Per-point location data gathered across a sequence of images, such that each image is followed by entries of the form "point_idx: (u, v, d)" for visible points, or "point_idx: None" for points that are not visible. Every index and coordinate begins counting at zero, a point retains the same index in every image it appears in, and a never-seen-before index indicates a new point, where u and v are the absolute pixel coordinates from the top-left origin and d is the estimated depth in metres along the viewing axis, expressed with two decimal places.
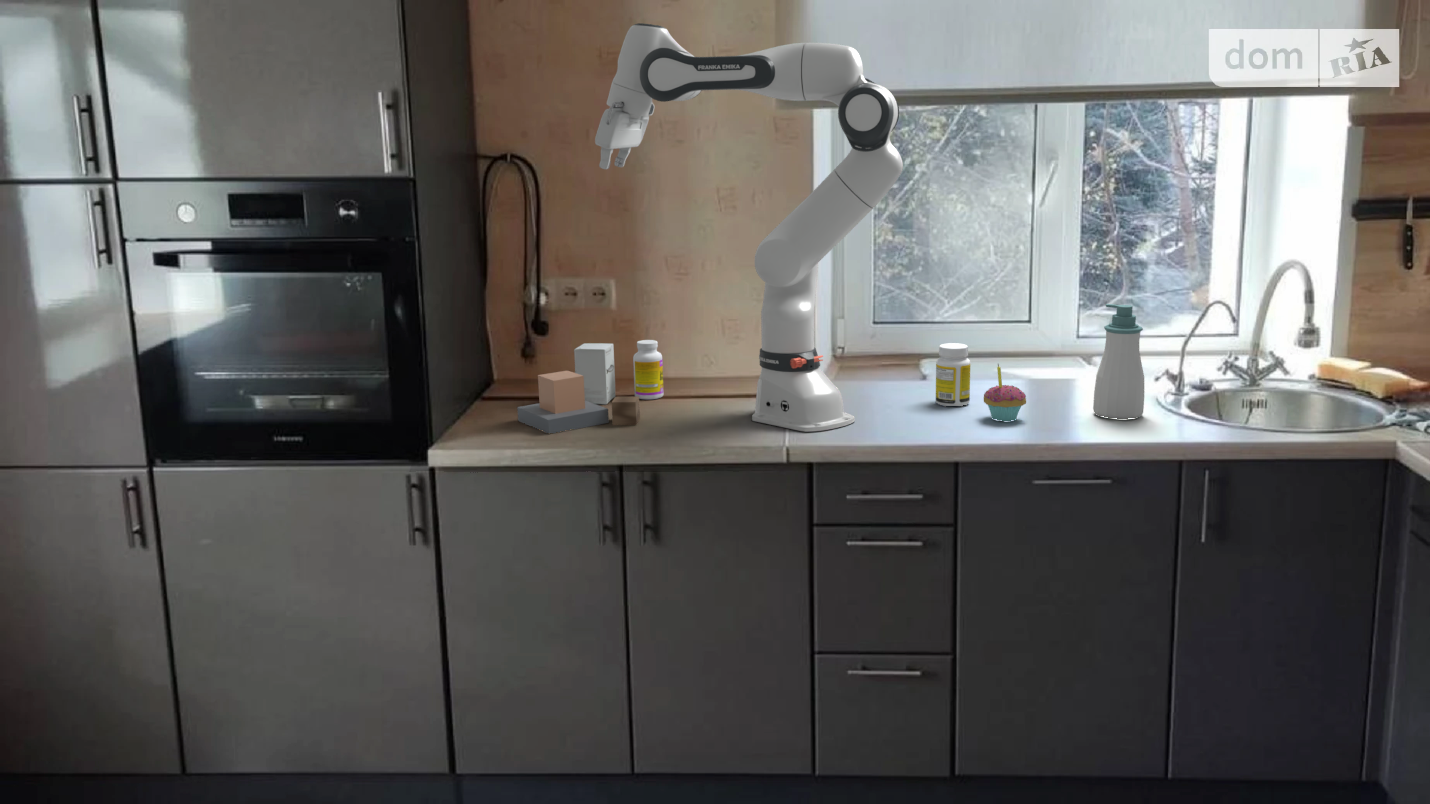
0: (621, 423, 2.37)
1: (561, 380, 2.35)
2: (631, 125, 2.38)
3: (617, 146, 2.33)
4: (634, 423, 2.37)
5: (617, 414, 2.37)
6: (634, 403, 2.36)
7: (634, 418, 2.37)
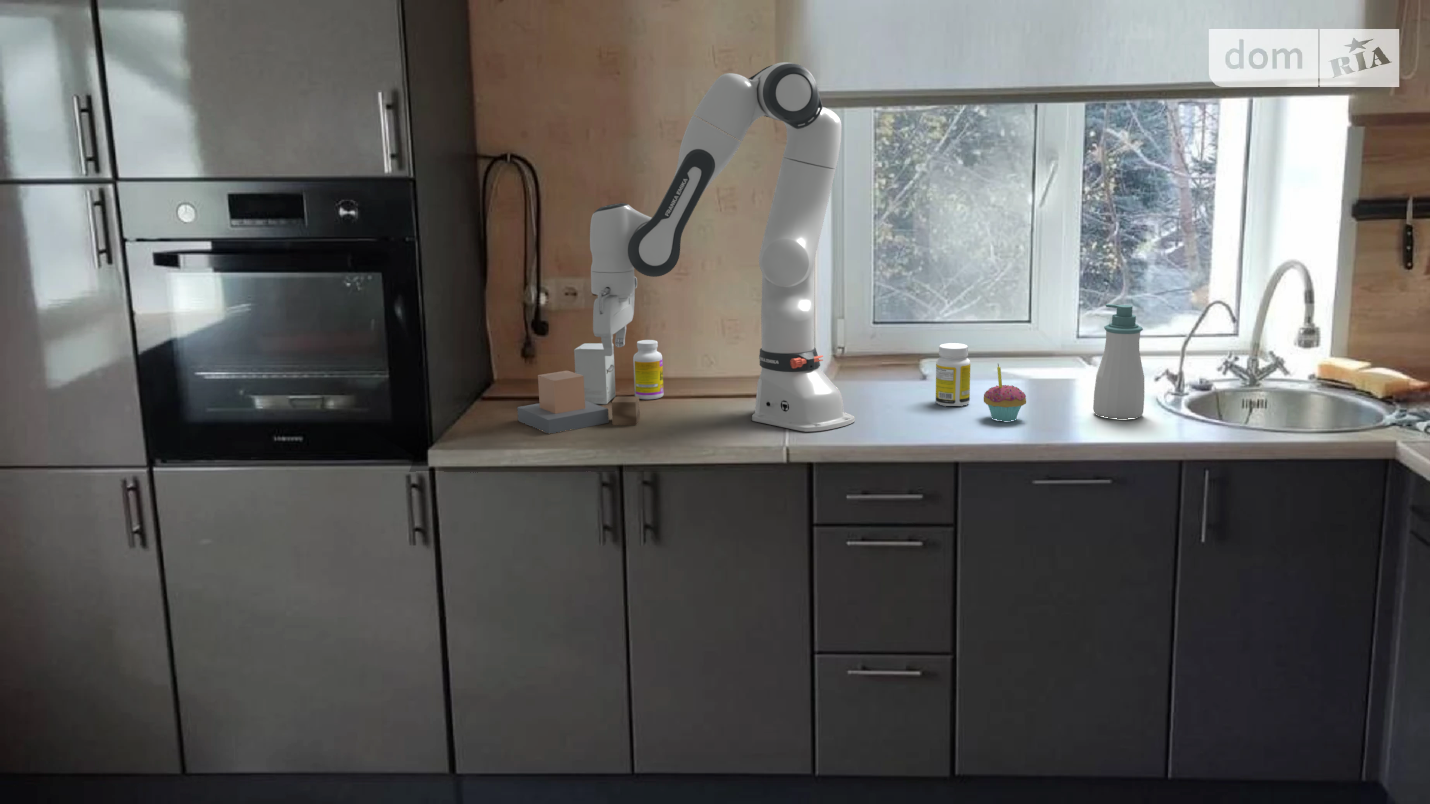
0: (621, 423, 2.37)
1: (561, 380, 2.35)
2: (622, 305, 2.35)
3: (616, 330, 2.29)
4: (634, 423, 2.37)
5: (617, 414, 2.37)
6: (634, 403, 2.36)
7: (634, 418, 2.37)
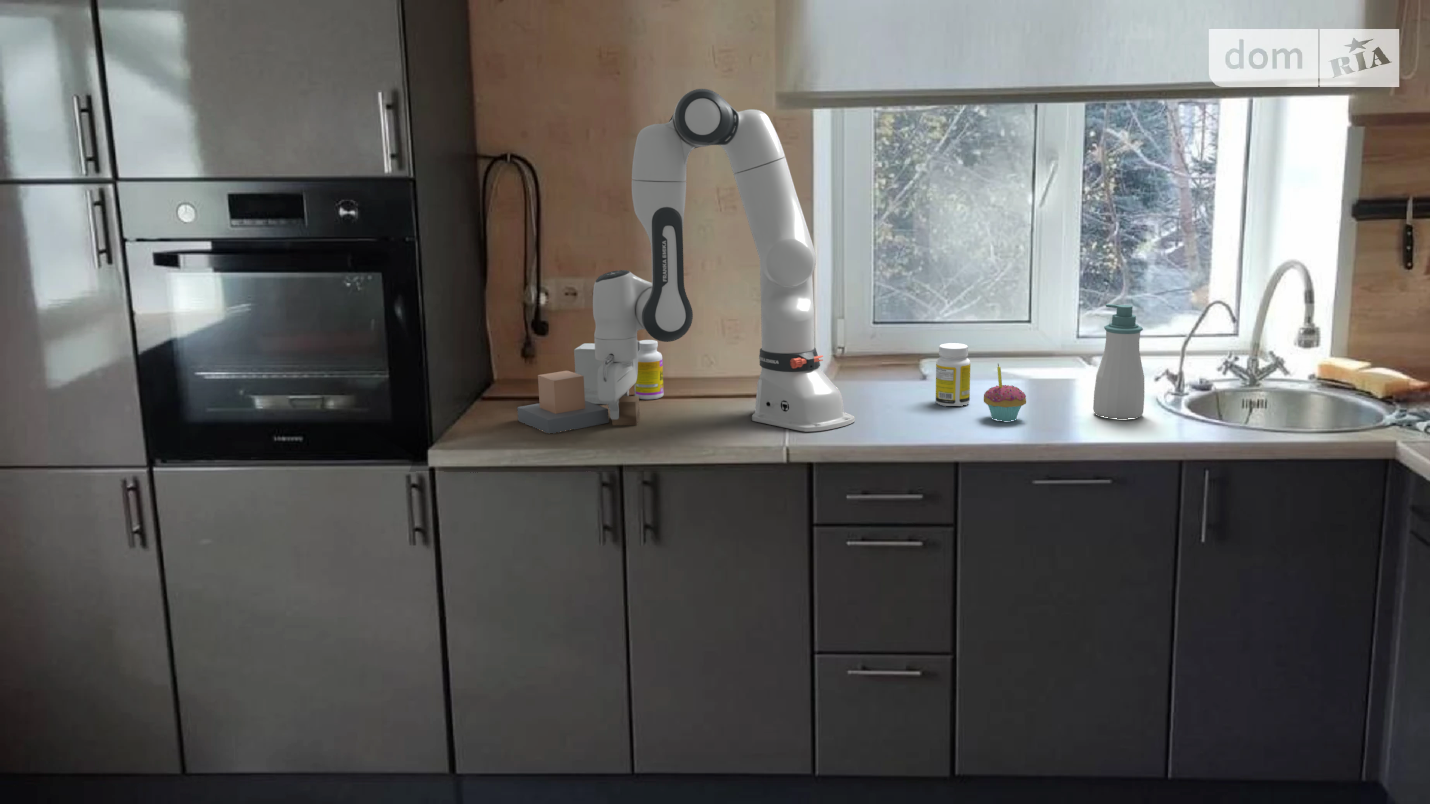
0: (621, 423, 2.37)
1: (561, 380, 2.35)
2: (625, 369, 2.38)
3: (620, 396, 2.33)
4: (634, 423, 2.37)
5: None
6: (634, 403, 2.36)
7: (634, 418, 2.37)
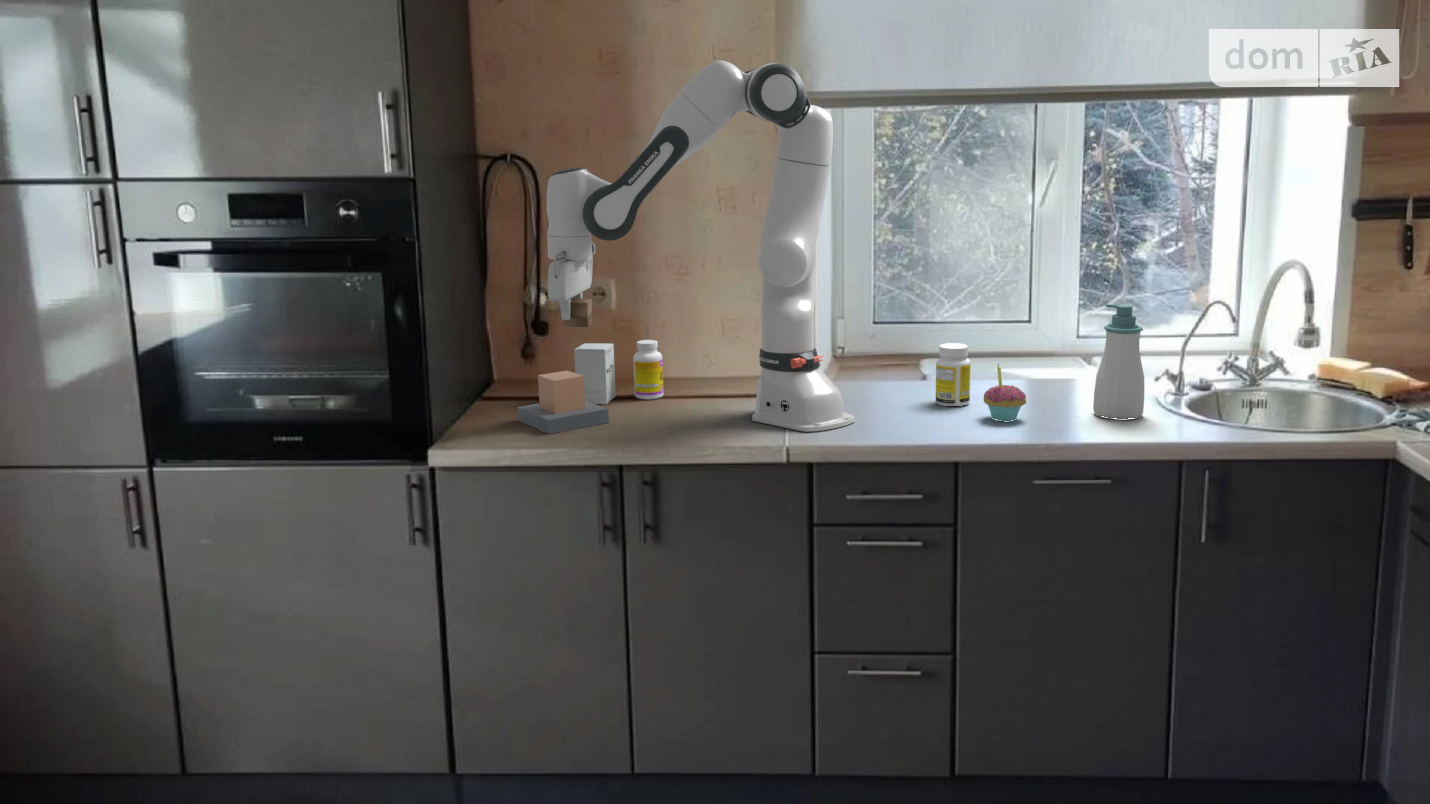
0: (572, 324, 2.33)
1: (561, 380, 2.35)
2: (579, 270, 2.34)
3: (571, 295, 2.28)
4: (585, 324, 2.33)
5: None
6: (586, 304, 2.32)
7: (586, 319, 2.32)
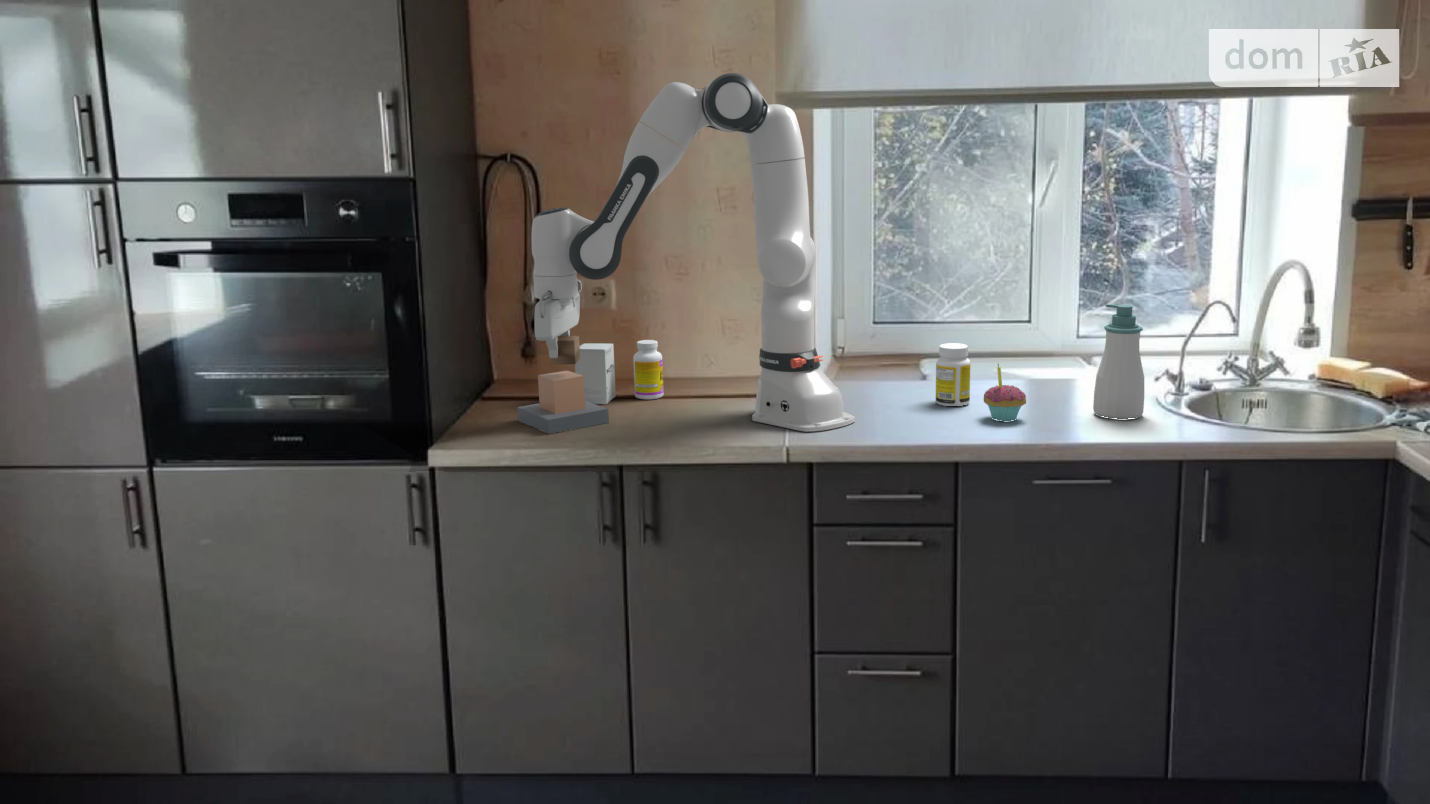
0: (560, 362, 2.35)
1: (561, 380, 2.35)
2: (565, 308, 2.36)
3: (558, 334, 2.31)
4: (573, 362, 2.35)
5: None
6: (573, 341, 2.34)
7: (573, 357, 2.35)
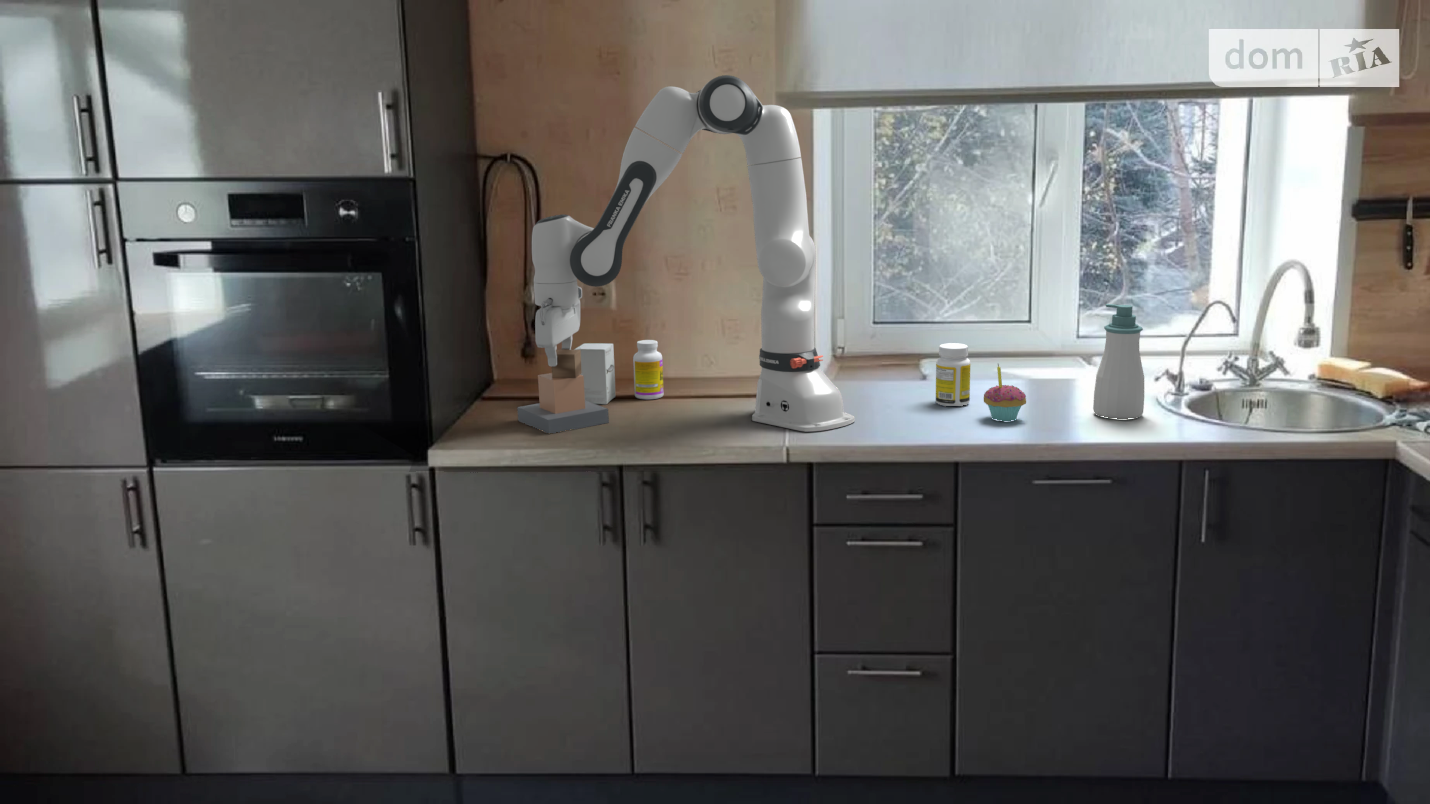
0: (560, 375, 2.36)
1: (561, 380, 2.35)
2: (566, 315, 2.37)
3: (559, 341, 2.31)
4: (573, 376, 2.36)
5: (556, 366, 2.36)
6: (573, 355, 2.35)
7: (573, 371, 2.35)
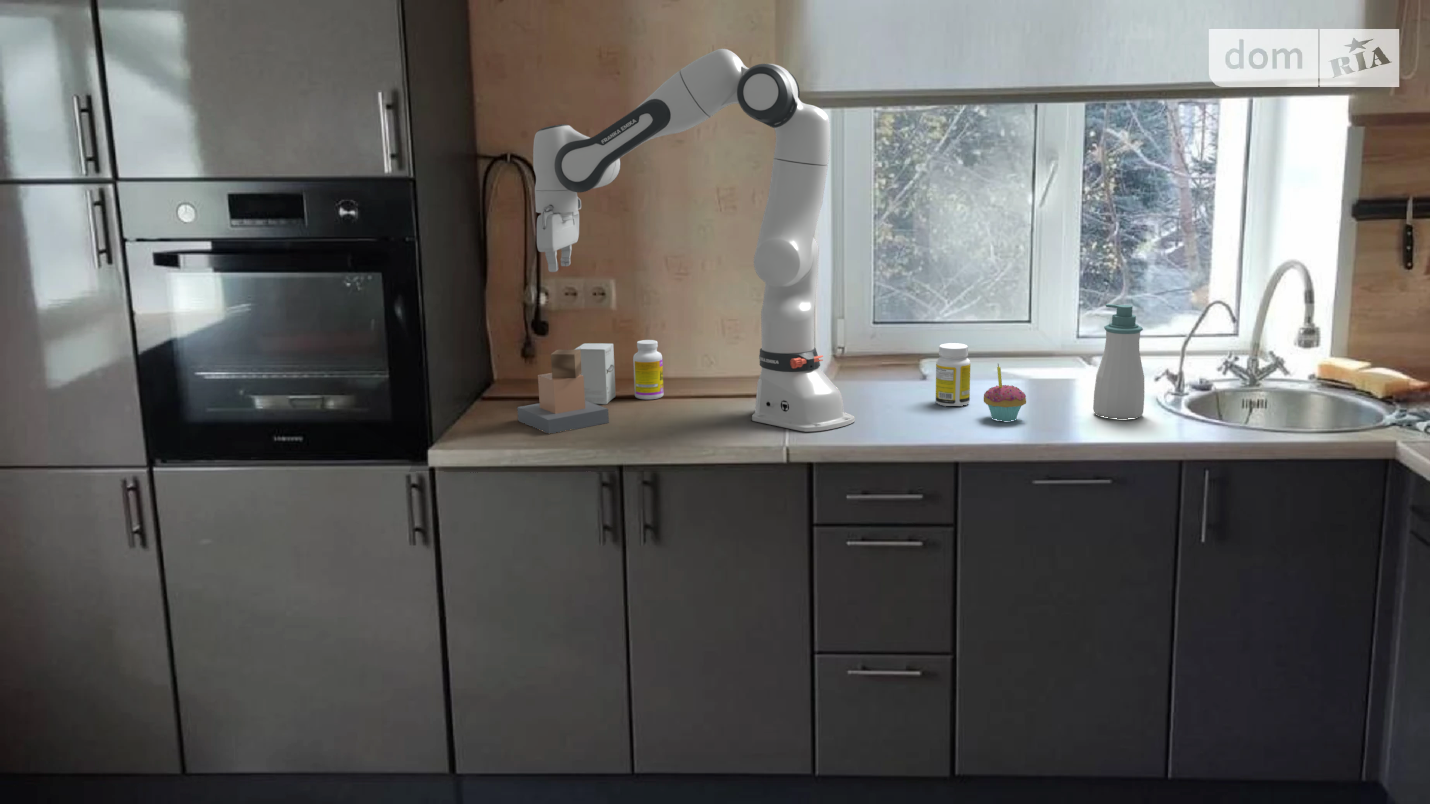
0: (560, 375, 2.36)
1: (561, 380, 2.35)
2: (566, 224, 2.44)
3: (559, 246, 2.39)
4: (573, 376, 2.36)
5: (556, 366, 2.36)
6: (573, 355, 2.35)
7: (573, 371, 2.35)
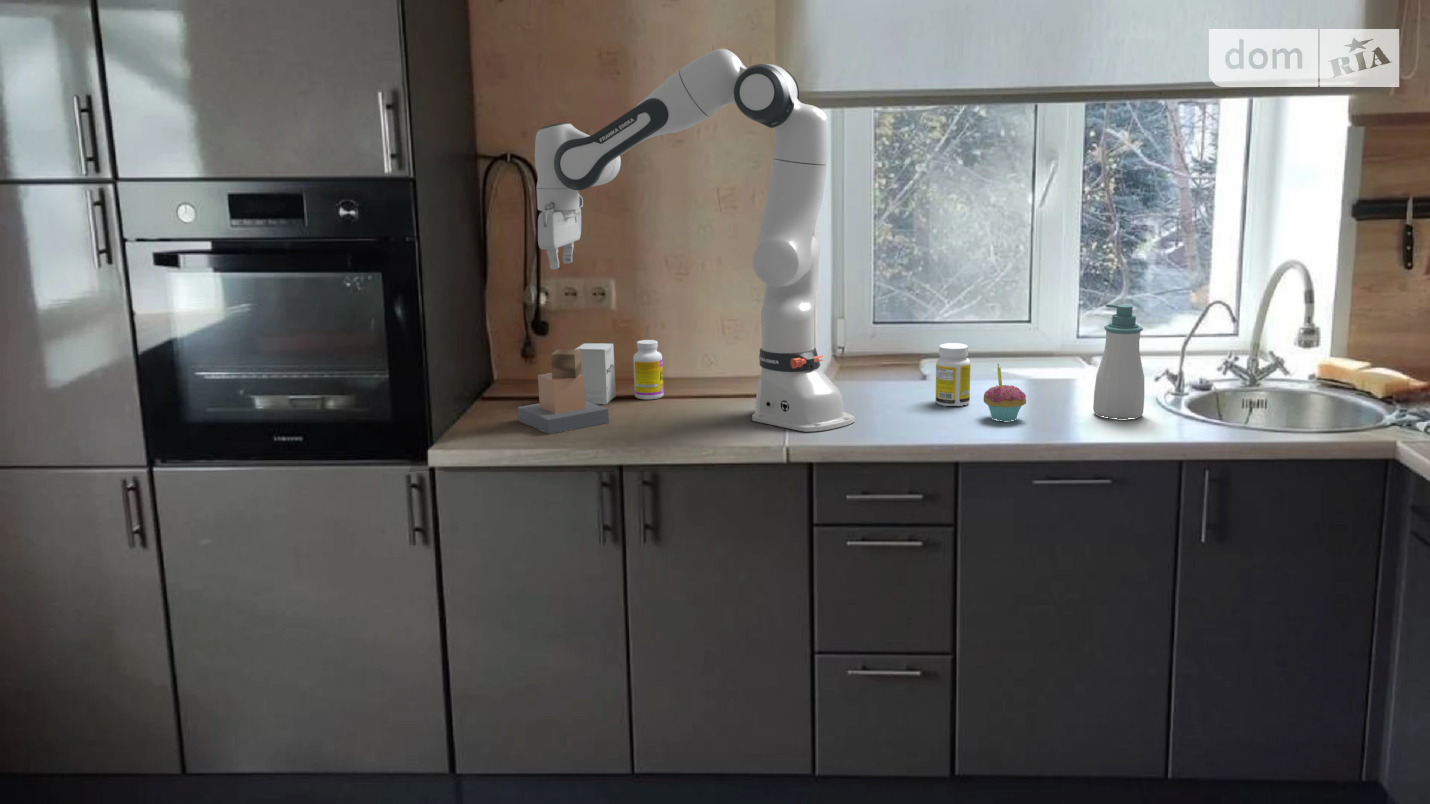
0: (560, 375, 2.36)
1: (561, 380, 2.35)
2: (567, 221, 2.46)
3: (561, 244, 2.41)
4: (573, 376, 2.36)
5: (556, 366, 2.36)
6: (573, 355, 2.35)
7: (573, 371, 2.35)
